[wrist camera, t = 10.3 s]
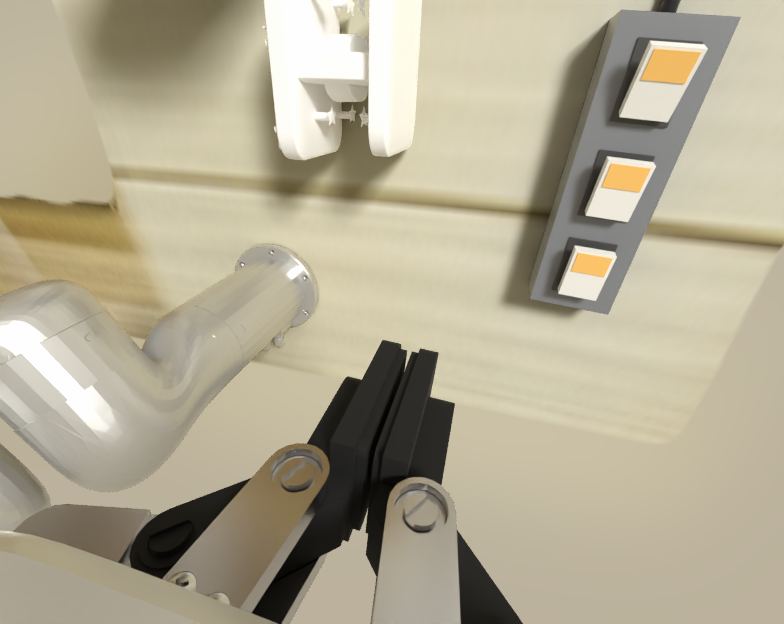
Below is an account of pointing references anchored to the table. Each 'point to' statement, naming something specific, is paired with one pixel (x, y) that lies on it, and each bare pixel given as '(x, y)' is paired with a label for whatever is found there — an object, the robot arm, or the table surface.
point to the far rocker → (586, 272)
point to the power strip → (623, 146)
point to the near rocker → (661, 80)
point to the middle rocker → (619, 188)
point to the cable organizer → (342, 74)
